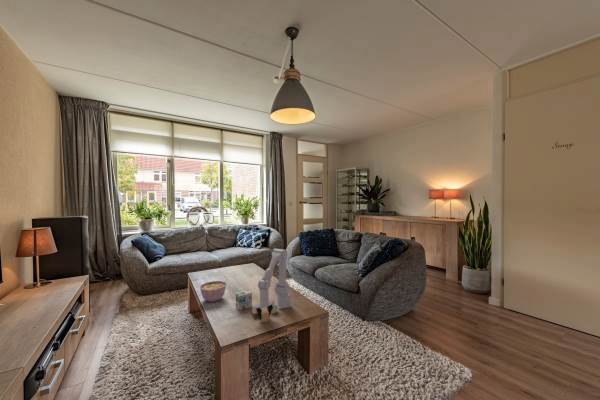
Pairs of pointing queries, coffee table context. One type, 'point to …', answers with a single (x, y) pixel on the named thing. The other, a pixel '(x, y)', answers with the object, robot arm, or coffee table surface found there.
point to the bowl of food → (213, 290)
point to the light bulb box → (243, 300)
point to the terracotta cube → (264, 316)
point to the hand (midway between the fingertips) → (264, 317)
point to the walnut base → (255, 313)
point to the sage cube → (274, 308)
